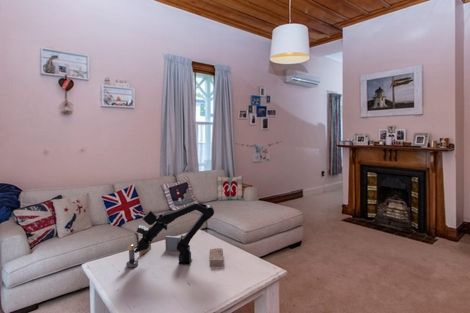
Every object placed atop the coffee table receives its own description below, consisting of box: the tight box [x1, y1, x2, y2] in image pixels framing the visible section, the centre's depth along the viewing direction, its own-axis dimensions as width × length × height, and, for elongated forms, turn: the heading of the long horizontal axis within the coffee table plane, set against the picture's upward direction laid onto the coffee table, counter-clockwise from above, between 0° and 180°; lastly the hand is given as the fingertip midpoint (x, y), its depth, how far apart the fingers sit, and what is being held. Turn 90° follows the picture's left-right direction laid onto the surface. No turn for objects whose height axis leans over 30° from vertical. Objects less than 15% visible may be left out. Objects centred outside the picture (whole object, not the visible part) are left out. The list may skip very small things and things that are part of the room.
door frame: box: [164, 235, 181, 252], centre depth 189 cm, size 25×2×9 cm, turn 77°
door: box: [138, 241, 152, 257], centre depth 184 cm, size 1×13×10 cm, turn 167°
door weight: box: [125, 243, 139, 269], centre depth 165 cm, size 6×6×13 cm
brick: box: [209, 247, 225, 268], centre depth 172 cm, size 17×8×5 cm, turn 5°
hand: (136, 249), depth 165 cm, fingers open, 9 cm apart
